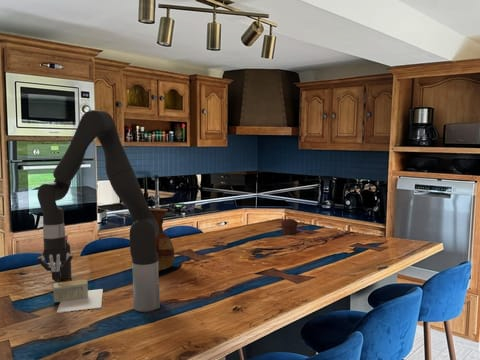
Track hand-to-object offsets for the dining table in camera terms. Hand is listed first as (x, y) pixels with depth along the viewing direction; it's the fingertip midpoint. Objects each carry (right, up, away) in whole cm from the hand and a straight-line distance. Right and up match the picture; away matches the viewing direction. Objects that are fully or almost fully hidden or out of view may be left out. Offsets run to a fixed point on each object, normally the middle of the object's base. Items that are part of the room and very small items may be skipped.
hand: (56, 280), depth 154 cm
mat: (+8, -9, +3) cm, 12 cm away
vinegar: (-10, -7, +30) cm, 32 cm away
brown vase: (+28, -5, +42) cm, 51 cm away
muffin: (+103, +2, +120) cm, 158 cm away
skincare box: (-2, -5, +1) cm, 6 cm away
